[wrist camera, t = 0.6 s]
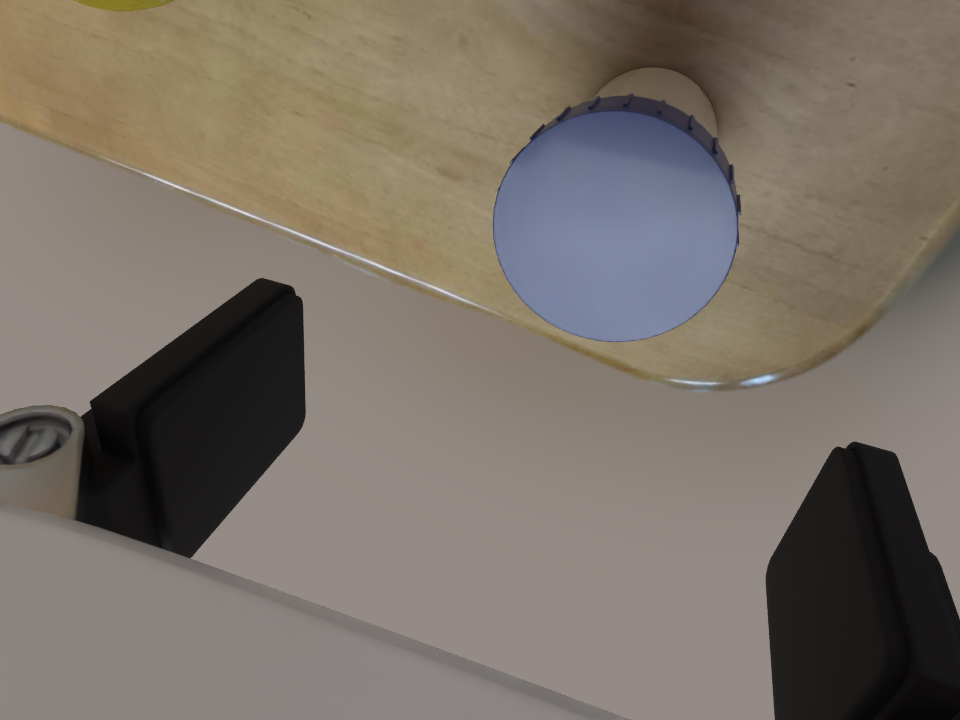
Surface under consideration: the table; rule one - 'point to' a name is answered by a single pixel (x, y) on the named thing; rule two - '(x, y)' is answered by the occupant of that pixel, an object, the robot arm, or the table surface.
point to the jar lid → (618, 219)
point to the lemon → (124, 4)
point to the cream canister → (664, 92)
